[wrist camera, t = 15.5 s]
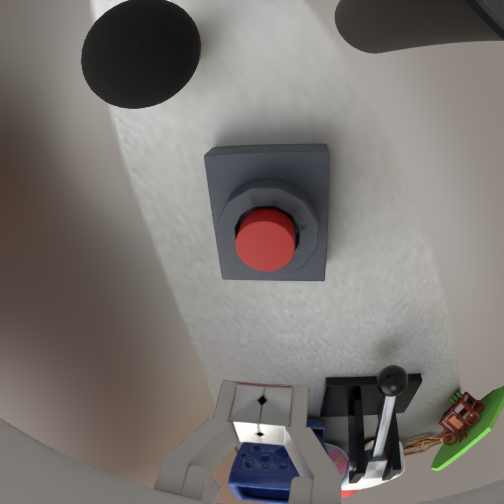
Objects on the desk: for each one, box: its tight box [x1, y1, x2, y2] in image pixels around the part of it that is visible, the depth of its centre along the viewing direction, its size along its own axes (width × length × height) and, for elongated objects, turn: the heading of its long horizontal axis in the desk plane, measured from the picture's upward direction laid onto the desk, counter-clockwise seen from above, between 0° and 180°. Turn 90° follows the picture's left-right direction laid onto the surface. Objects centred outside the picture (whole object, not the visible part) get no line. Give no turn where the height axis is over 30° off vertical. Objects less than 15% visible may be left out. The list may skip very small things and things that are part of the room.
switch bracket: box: [320, 374, 422, 484], centre depth 30 cm, size 8×12×12 cm, turn 94°
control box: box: [204, 144, 329, 281], centre depth 22 cm, size 10×8×4 cm
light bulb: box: [81, 0, 201, 109], centre depth 14 cm, size 6×6×10 cm
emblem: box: [402, 434, 444, 456], centre depth 44 cm, size 12×10×1 cm
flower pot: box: [228, 419, 329, 504], centre depth 38 cm, size 13×13×12 cm
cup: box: [341, 440, 405, 490], centre depth 43 cm, size 7×7×15 cm
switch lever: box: [363, 365, 408, 479], centre depth 26 cm, size 14×3×3 cm, turn 5°
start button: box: [235, 208, 295, 271], centre depth 20 cm, size 4×4×2 cm
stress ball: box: [341, 490, 357, 497], centre depth 55 cm, size 5×9×6 cm
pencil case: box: [324, 442, 349, 484], centre depth 45 cm, size 21×9×10 cm, turn 179°
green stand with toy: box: [431, 386, 504, 471], centre depth 32 cm, size 15×15×6 cm
